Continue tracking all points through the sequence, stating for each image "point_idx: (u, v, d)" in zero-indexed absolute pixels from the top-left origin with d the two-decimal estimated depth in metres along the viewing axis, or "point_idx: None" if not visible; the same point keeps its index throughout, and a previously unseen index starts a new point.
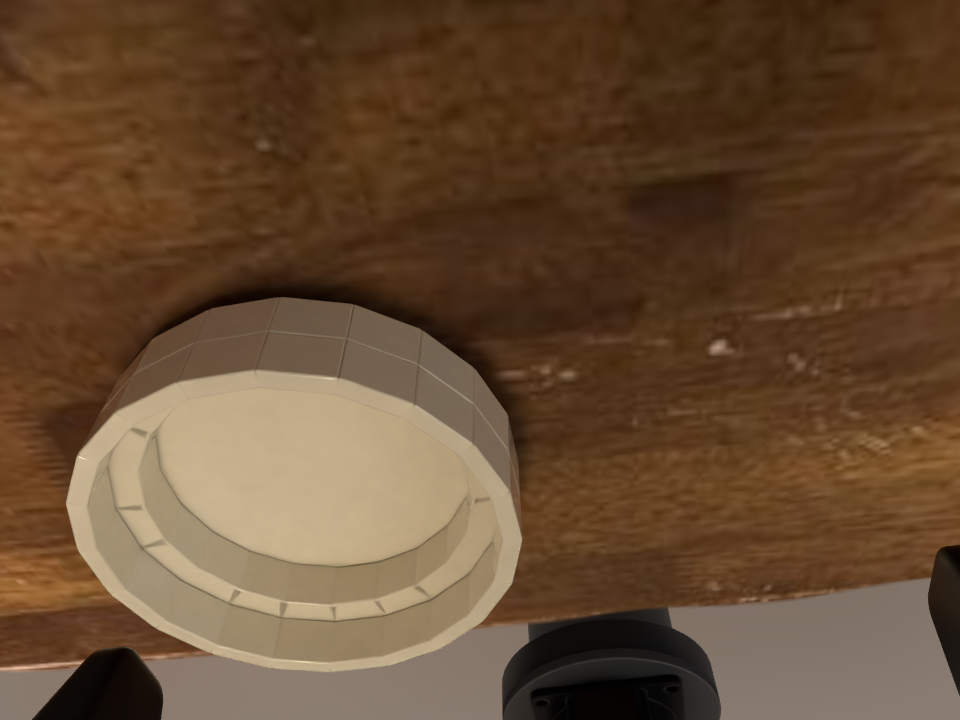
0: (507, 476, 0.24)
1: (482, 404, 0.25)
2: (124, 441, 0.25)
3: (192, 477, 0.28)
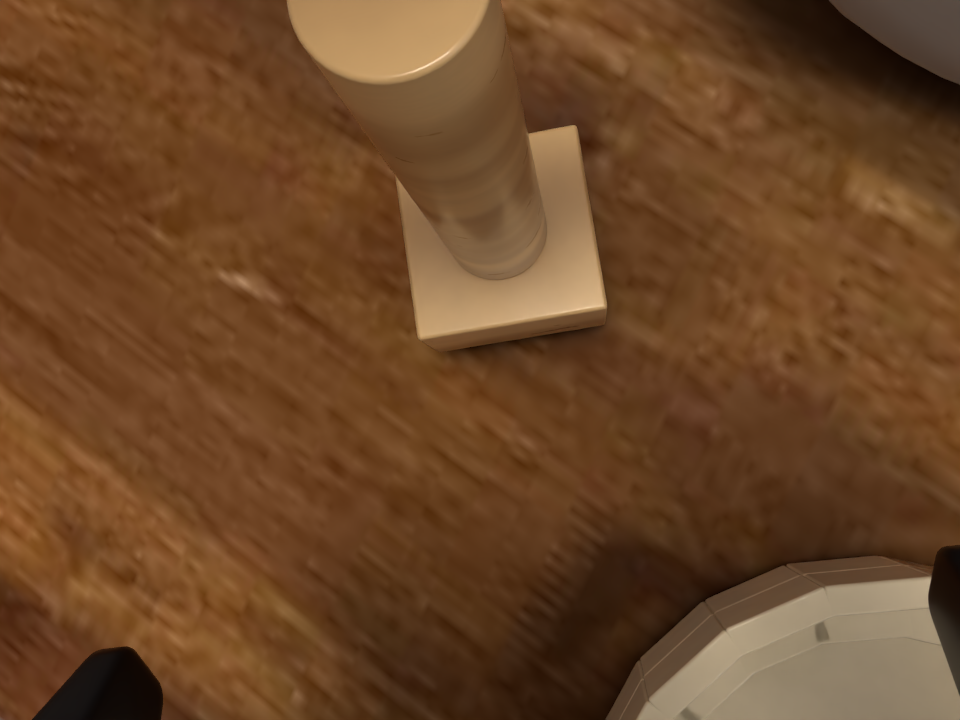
0: None
1: None
2: None
3: None
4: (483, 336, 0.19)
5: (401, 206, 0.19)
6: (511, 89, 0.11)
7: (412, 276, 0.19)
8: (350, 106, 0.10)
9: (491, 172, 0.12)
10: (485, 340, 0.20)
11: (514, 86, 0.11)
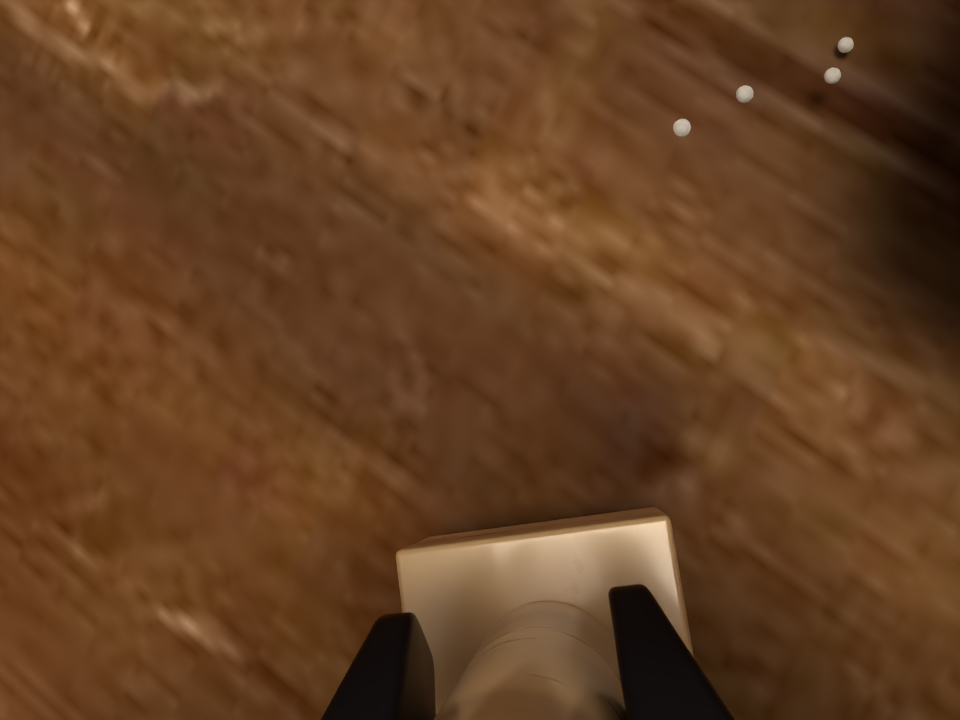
0: None
1: None
2: None
3: None
4: None
5: None
6: None
7: None
8: None
9: None
10: None
11: None
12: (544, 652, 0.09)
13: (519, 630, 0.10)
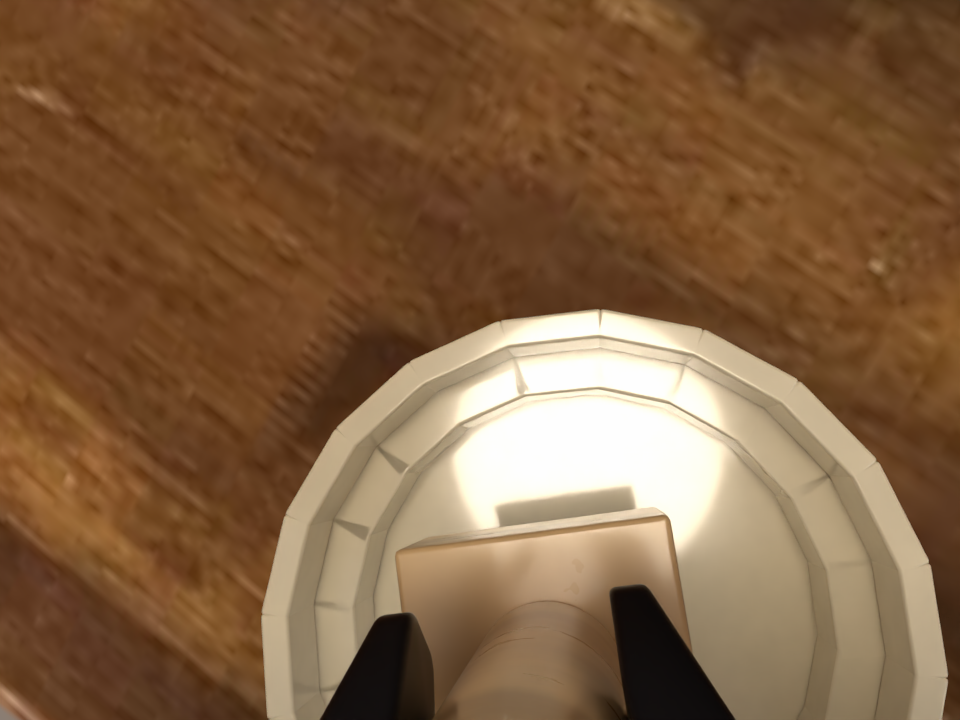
0: None
1: None
2: (492, 380, 0.19)
3: (441, 509, 0.21)
4: None
5: None
6: None
7: None
8: None
9: None
10: None
11: None
12: (543, 652, 0.09)
13: (518, 630, 0.10)
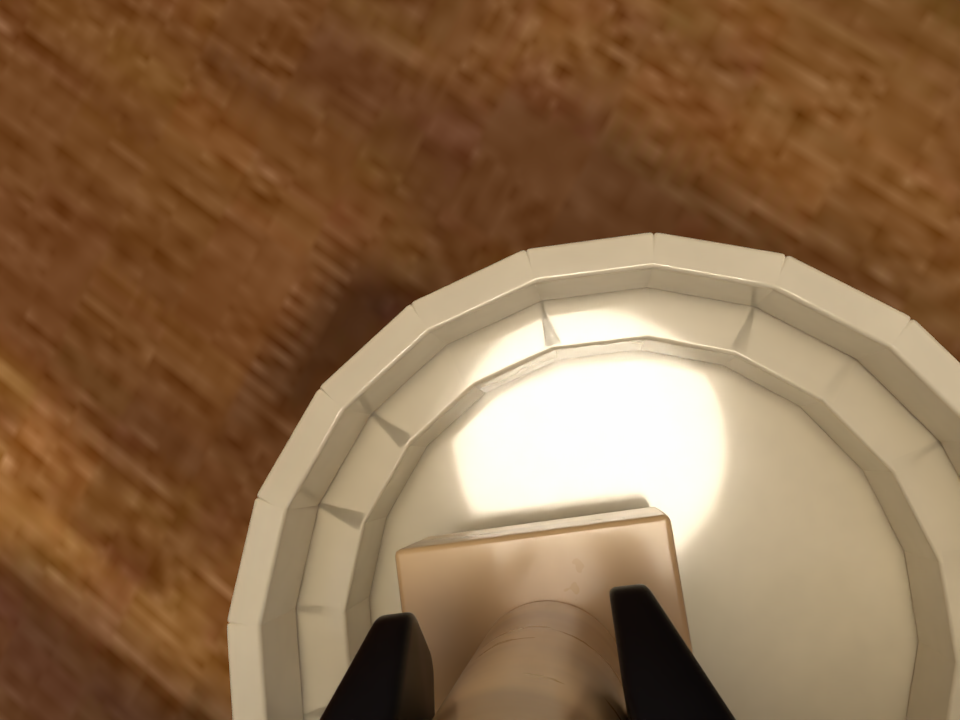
0: None
1: None
2: (514, 330, 0.15)
3: (451, 492, 0.17)
4: None
5: None
6: None
7: None
8: None
9: None
10: None
11: None
12: (543, 651, 0.09)
13: (518, 630, 0.10)
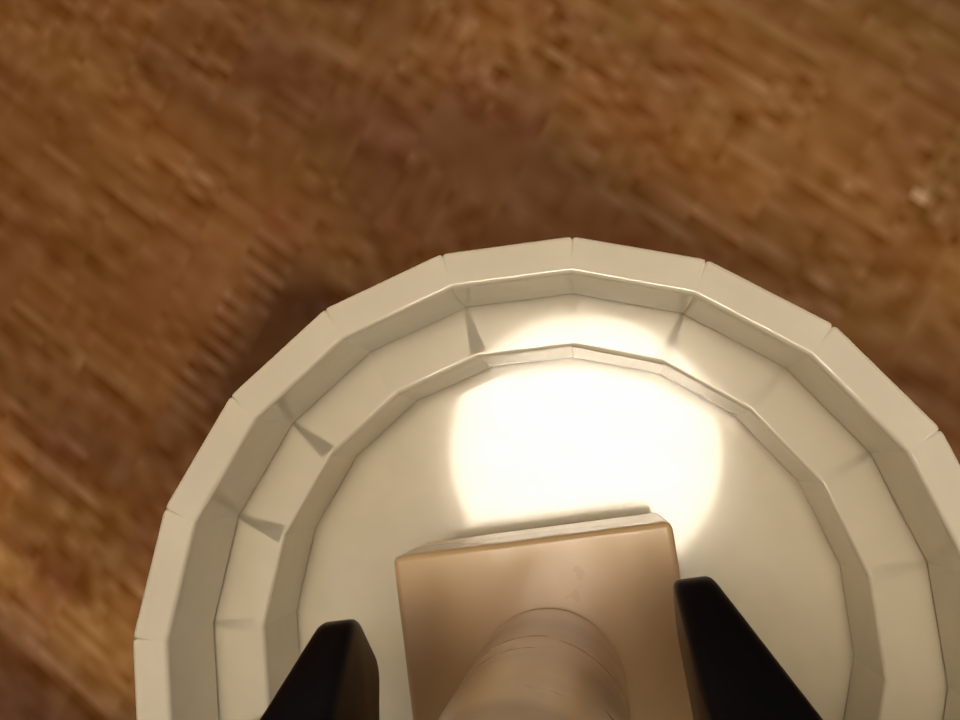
0: None
1: None
2: (439, 337, 0.15)
3: (380, 502, 0.17)
4: None
5: (405, 632, 0.13)
6: None
7: None
8: None
9: None
10: None
11: None
12: (543, 662, 0.09)
13: (518, 639, 0.10)
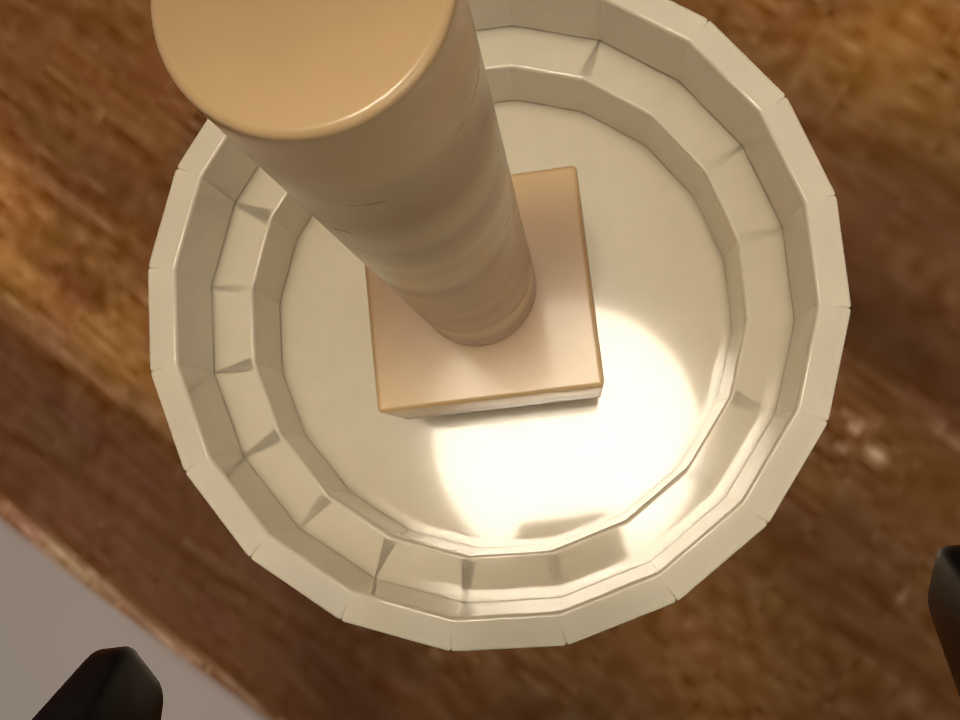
0: None
1: None
2: None
3: None
4: (456, 408, 0.16)
5: None
6: (488, 141, 0.08)
7: (374, 336, 0.16)
8: None
9: (461, 243, 0.09)
10: (459, 410, 0.17)
11: (493, 136, 0.08)
12: None
13: None
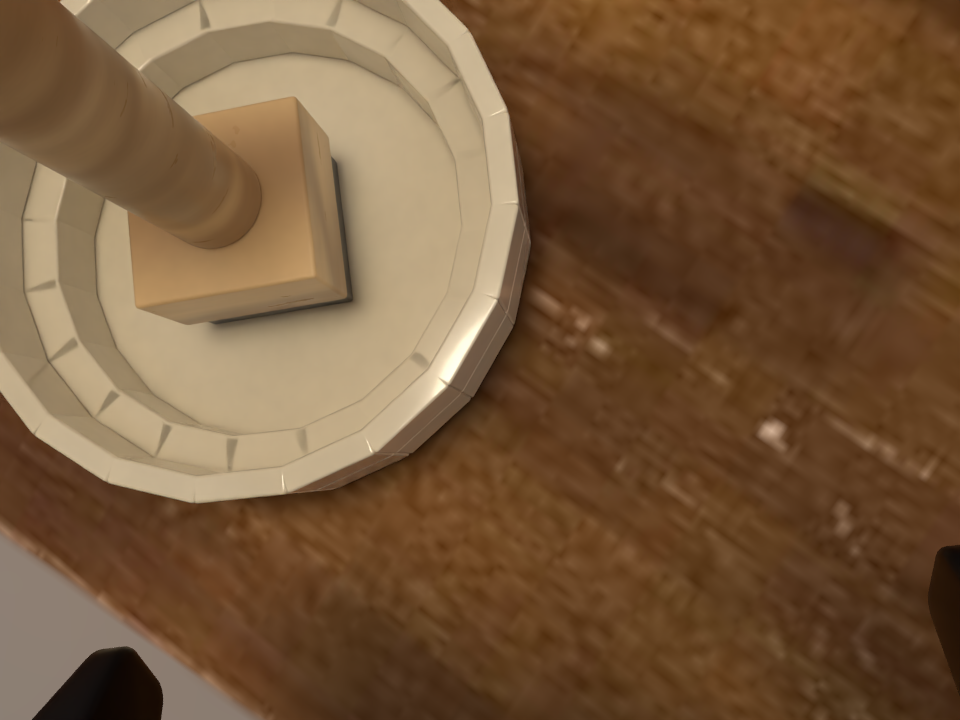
0: (503, 296, 0.18)
1: (523, 250, 0.20)
2: (180, 20, 0.21)
3: None
4: (211, 307, 0.19)
5: None
6: (21, 30, 0.11)
7: (132, 245, 0.19)
8: None
9: (53, 120, 0.12)
10: (221, 312, 0.20)
11: (33, 28, 0.11)
12: None
13: None
